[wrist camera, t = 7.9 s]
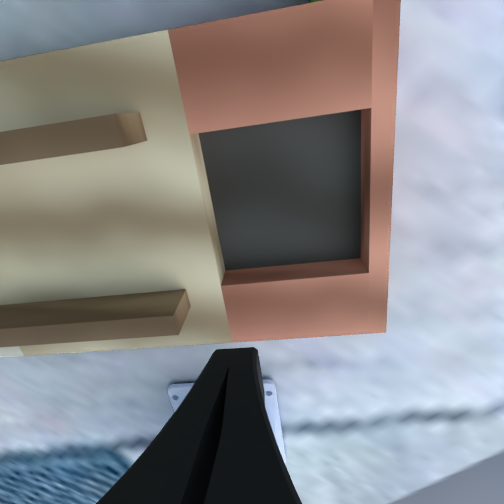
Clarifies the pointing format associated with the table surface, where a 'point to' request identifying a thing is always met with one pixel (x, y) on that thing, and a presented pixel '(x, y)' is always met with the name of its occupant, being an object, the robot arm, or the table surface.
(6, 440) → the table surface
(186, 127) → the trap track
